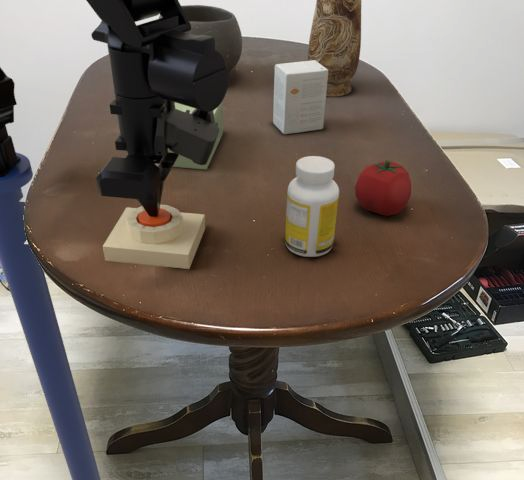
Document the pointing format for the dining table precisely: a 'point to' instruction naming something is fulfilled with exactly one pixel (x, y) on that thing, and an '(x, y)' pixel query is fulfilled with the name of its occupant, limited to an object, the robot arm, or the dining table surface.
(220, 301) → the dining table surface
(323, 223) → the pill bottle
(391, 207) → the tomato
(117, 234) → the release console
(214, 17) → the bowl
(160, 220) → the button
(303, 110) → the small box
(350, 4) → the vase
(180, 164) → the box
